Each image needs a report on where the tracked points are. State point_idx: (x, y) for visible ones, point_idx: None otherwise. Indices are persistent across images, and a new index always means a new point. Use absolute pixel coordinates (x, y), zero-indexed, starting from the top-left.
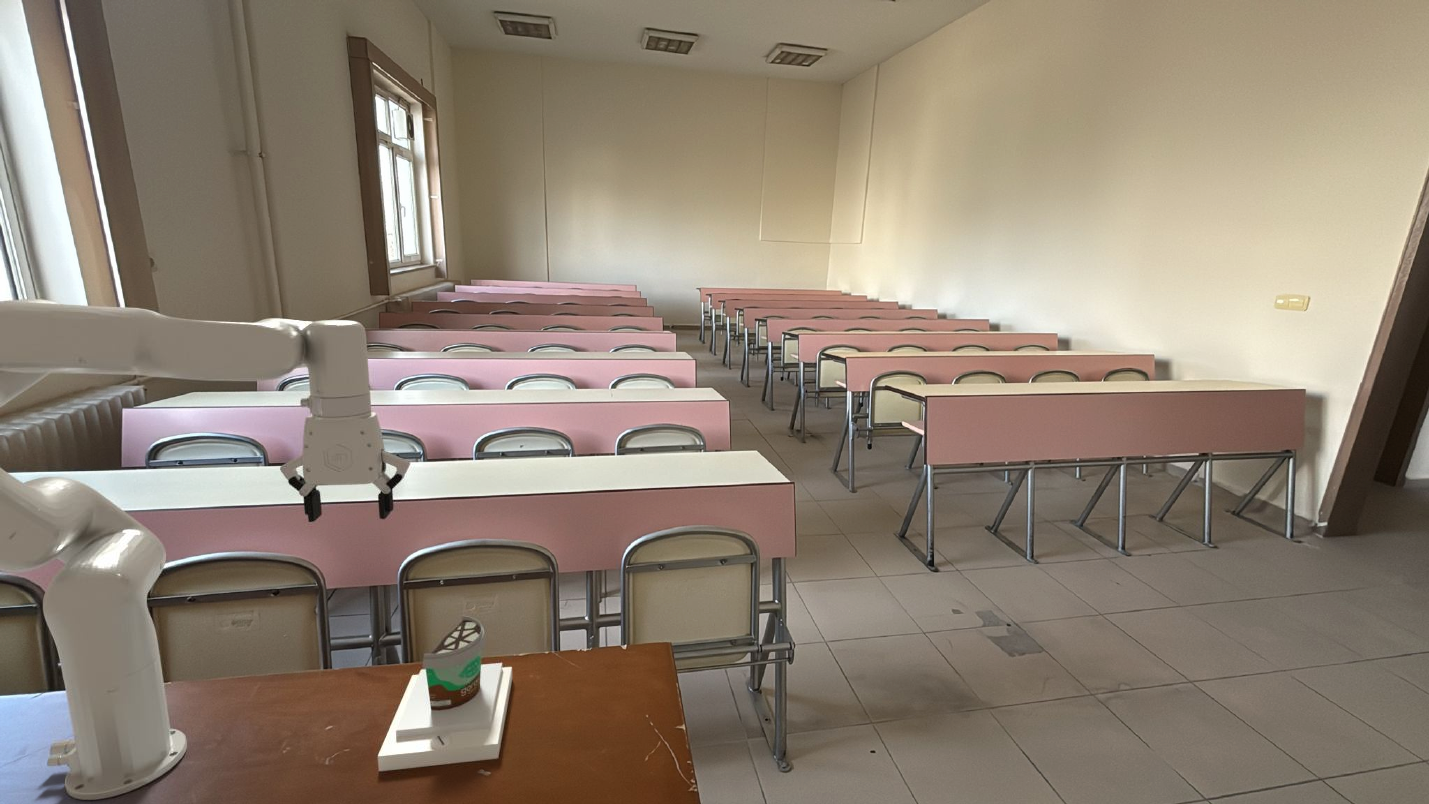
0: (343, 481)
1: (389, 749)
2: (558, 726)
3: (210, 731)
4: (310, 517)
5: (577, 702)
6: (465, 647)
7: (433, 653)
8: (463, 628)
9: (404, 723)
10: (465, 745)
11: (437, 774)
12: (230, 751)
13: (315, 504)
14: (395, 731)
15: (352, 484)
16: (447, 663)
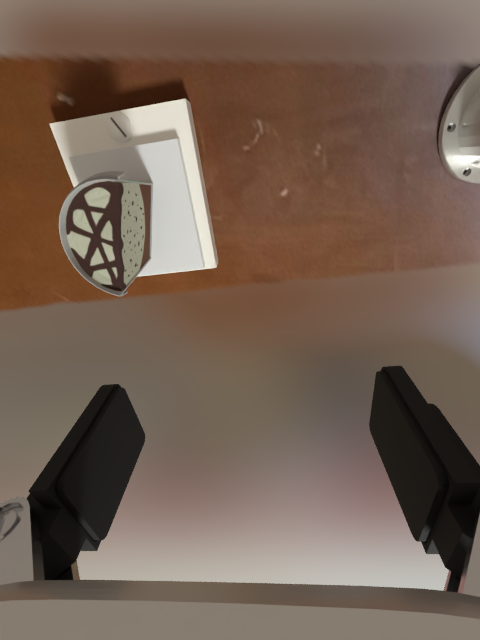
0: (176, 634)
1: (176, 113)
2: (24, 186)
3: (421, 188)
4: (399, 378)
5: (25, 230)
6: (64, 204)
7: (114, 197)
8: (108, 269)
9: (172, 154)
10: (86, 120)
11: (118, 95)
12: (383, 147)
13: (403, 448)
14: (186, 152)
15: (125, 582)
16: (87, 178)
